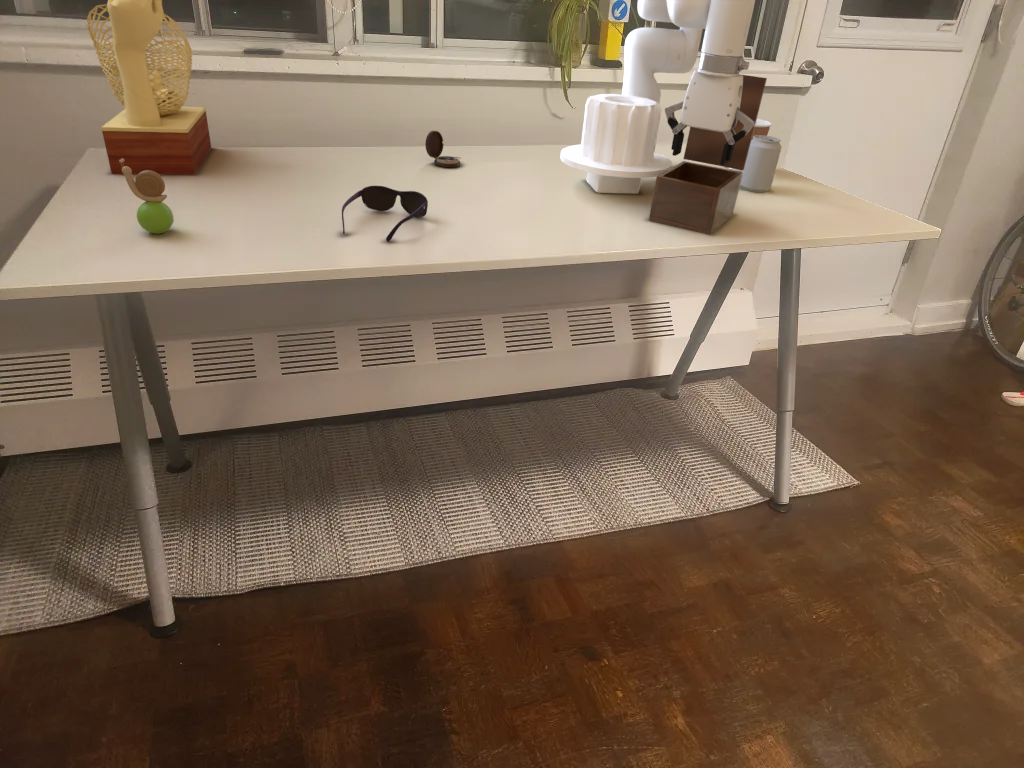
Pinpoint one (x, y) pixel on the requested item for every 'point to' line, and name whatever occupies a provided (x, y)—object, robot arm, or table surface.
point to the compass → (439, 150)
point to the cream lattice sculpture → (149, 92)
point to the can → (761, 163)
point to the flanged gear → (618, 143)
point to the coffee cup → (759, 131)
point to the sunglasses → (391, 203)
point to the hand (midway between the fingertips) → (699, 159)
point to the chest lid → (711, 143)
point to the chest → (695, 196)
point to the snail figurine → (150, 200)
